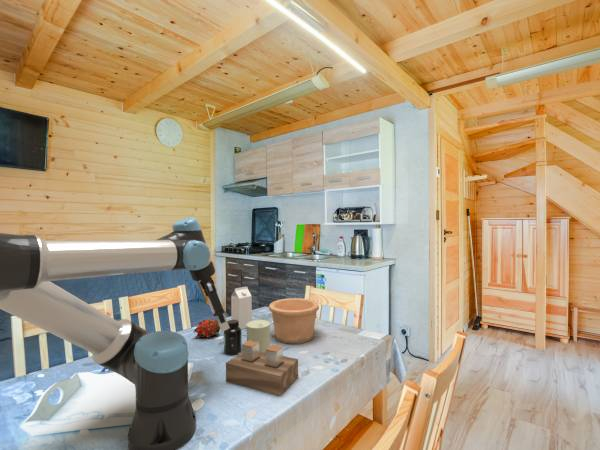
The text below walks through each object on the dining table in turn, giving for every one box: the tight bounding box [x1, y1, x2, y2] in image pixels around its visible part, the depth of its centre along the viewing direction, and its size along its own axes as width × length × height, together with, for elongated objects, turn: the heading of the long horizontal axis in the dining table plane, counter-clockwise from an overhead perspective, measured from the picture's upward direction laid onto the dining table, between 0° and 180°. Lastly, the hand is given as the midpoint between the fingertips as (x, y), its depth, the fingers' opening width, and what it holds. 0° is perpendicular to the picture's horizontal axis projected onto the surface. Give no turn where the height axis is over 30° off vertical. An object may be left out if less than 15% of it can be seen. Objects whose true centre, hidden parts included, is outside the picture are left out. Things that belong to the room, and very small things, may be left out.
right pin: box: [265, 344, 284, 368], centre depth 99 cm, size 4×4×6 cm
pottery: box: [268, 297, 320, 345], centre depth 137 cm, size 22×22×14 cm
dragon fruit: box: [193, 317, 221, 339], centre depth 138 cm, size 8×8×12 cm
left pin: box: [241, 340, 259, 363], centre depth 103 cm, size 4×4×6 cm
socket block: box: [225, 351, 299, 397], centre depth 101 cm, size 12×20×6 cm, turn 64°
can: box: [246, 319, 271, 352], centre depth 121 cm, size 9×9×12 cm
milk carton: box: [230, 286, 253, 330], centre depth 151 cm, size 7×7×19 cm
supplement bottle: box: [223, 319, 243, 356], centre depth 122 cm, size 7×7×12 cm
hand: (220, 320), depth 106 cm, fingers open, 13 cm apart
